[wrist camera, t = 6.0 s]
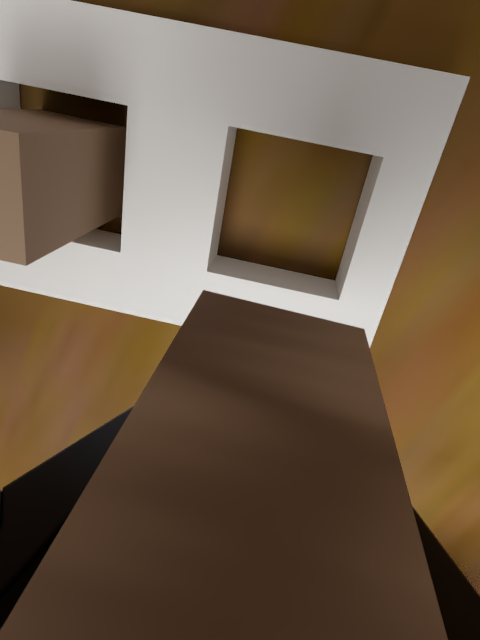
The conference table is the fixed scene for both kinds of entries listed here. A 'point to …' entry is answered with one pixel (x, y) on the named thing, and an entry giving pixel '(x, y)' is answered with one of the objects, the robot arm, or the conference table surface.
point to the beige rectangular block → (243, 499)
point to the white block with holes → (197, 159)
